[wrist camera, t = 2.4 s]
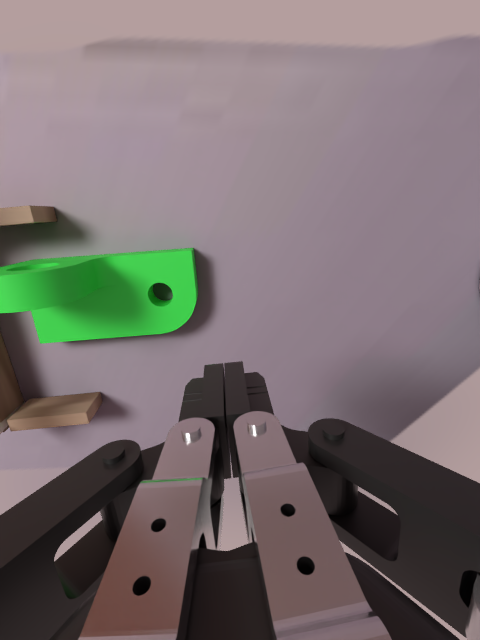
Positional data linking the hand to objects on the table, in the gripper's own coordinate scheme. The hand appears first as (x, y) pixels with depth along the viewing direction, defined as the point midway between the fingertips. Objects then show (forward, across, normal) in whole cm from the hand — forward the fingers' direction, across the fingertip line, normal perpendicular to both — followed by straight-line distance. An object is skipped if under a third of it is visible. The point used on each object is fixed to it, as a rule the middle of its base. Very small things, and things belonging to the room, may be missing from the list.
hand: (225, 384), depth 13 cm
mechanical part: (+14, +8, -1) cm, 16 cm away
